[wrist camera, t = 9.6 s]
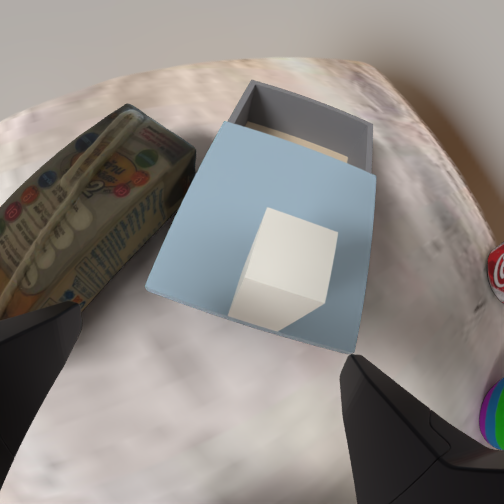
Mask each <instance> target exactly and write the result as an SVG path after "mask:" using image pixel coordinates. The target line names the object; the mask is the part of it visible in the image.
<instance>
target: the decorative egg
mask: <svg viewBox="0 0 504 504" xmlns="http://www.w3.org/2000/svg"><path fill="white" fill-rule="evenodd" d="M479 424H480V430H481V433H482V435H483V437H484V438H485V440H486V441H487V442H488V443H489V444H490V445H492V446H493V447H495V448H497V449H500V450H504V378H502V379H501V380H500V381H498V382H497V383H496V384H495V385H494V386H493V387H492V388H491V389H490V391H489V392H488V394H487V395H486V397H485V399H484V401H483V404H482V407H481V411H480V418H479Z"/></svg>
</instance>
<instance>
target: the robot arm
mask: <svg viewBox="0 0 504 504" xmlns="http://www.w3.org/2000/svg"><path fill="white" fill-rule="evenodd" d="M81 329H82V318H81V308H80V305H79V304H78V303H76V302H72V301H65V302H62V303H59V304H55V305H52V306H48V307H45V308H42V309H38V310H35V311H32V312H28V313H25V314H22V315H18V316H15V317H11V318H8V319H5V320H1V321H0V490H1V488H2V485H3V483H4V481H5V478H6V476H7V474H8V471H9V469H10V467H11V465H12V463H13V460H14V457H15V456H16V454H17V451H18V449H19V447H20V445H21V443H22V441H23V439H24V437H25V435H26V433H27V431H28V429H29V427H30V425H31V423H32V421H33V420H34V418H35V416H36V414H37V412H38V410H39V408H40V407H41V405H42V403H43V401H44V399H45V398H46V396H47V394H48V392H49V391H50V389H51V387H52V385H53V384H54V382H55V380H56V378H57V377H58V375H59V373H60V372H61V370H62V368H63V367H64V365H65V363H66V361H67V359H68V357H69V355H70V353H71V350H72V348H73V346H74V344H75V342H76V340H77V338H78V336H79V334H80V332H81ZM340 389H341V402H342V415H343V422H344V427H345V432H346V438H347V443H348V449H349V454H350V460H351V466H352V472H353V478H354V484H355V491H356V497H357V504H504V450H503V451H500V450H493V449H490V448H487V447H485V446H484V445H482V444H480V443H479V442H477V441H476V440H474V439H472V438H471V437H469V436H468V435H466V434H465V433H463V432H461V431H460V430H458V429H457V428H455V427H454V426H452V425H451V424H449V423H448V422H447V421H445V420H444V419H443V418H441V417H440V416H439V415H437V414H436V413H435V412H433V411H432V410H430V409H429V408H428V407H427V406H426V405H424V404H423V403H422V402H420V401H419V400H418V399H417V398H415V397H414V396H413V395H411V394H410V393H409V392H408V391H406V390H405V389H404V388H403V387H401V386H400V385H399V384H397V383H396V382H395V381H394V380H392V379H391V378H390V377H388V376H387V375H386V374H385V373H383V372H382V371H381V370H380V369H378V368H377V367H376V366H375V365H373V364H372V363H371V362H369V361H368V360H367V359H366V358H364V357H363V356H362V355H354V354H351V355H349V356H348V358H347V360H346V362H345V364H344V367H343V369H342V371H341V374H340Z"/></svg>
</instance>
